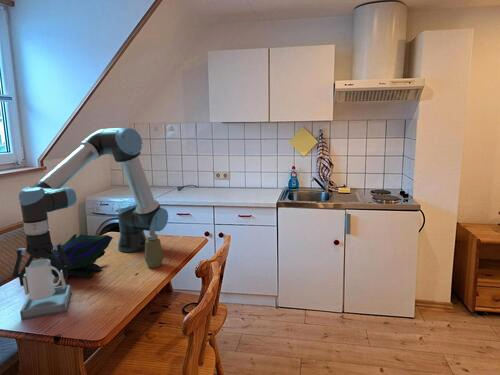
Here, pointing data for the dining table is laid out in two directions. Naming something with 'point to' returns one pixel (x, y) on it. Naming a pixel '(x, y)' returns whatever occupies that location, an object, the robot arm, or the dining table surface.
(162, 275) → the dining table surface
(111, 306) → the dining table surface
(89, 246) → the decorative plant
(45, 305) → the slate tray
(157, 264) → the squeeze bottle
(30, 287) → the mug
